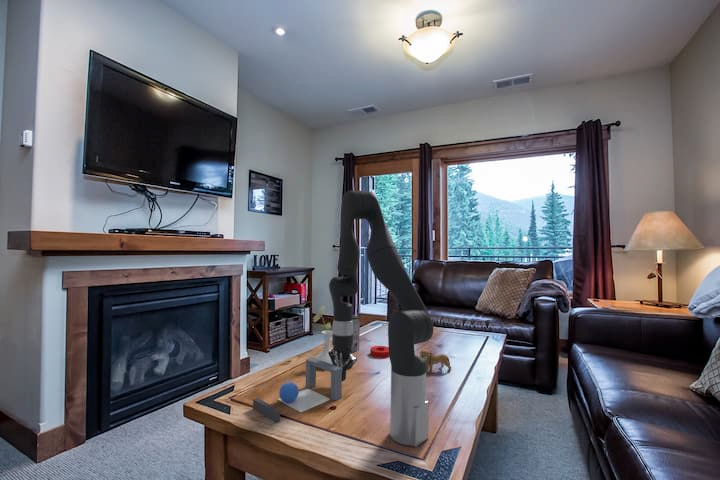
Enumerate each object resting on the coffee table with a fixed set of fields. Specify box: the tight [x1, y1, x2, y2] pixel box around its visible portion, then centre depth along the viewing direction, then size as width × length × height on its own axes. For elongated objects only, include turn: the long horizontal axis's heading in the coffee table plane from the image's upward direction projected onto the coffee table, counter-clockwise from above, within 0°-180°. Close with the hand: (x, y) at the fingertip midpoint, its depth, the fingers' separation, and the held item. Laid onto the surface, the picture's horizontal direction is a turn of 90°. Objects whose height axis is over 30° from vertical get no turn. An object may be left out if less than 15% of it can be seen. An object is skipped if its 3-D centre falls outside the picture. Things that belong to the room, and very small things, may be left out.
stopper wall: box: [252, 397, 281, 424], centre depth 99 cm, size 12×2×3 cm, turn 48°
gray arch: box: [304, 357, 343, 402], centre depth 115 cm, size 3×15×10 cm, turn 47°
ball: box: [278, 381, 300, 403], centre depth 108 cm, size 6×6×6 cm
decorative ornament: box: [369, 345, 389, 359], centre depth 157 cm, size 10×10×3 cm
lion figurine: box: [419, 349, 452, 374], centre depth 137 cm, size 15×5×9 cm, turn 109°
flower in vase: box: [312, 305, 336, 365], centre depth 141 cm, size 13×11×25 cm
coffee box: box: [351, 314, 361, 353], centre depth 165 cm, size 9×6×16 cm
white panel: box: [277, 387, 331, 413], centre depth 109 cm, size 12×12×1 cm
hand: (341, 380), depth 122 cm, fingers closed
